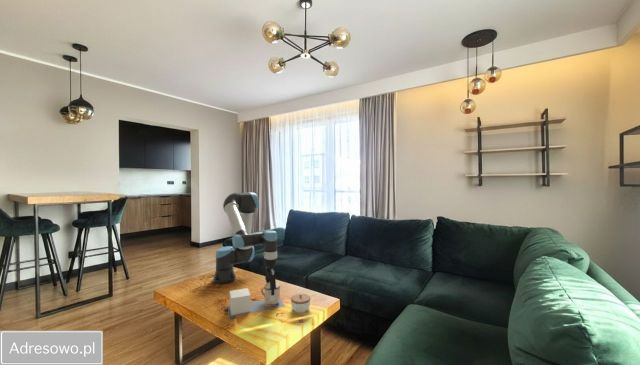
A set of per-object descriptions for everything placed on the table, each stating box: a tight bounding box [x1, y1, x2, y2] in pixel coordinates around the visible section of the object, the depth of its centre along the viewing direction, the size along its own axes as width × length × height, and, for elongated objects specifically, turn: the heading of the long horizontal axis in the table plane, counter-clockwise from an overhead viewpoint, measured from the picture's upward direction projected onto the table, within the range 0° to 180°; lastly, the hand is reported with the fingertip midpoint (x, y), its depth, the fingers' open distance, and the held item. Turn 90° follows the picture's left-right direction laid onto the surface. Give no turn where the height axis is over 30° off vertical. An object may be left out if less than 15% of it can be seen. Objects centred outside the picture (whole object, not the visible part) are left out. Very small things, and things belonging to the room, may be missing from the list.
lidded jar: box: [290, 293, 311, 314], centre depth 146 cm, size 11×11×9 cm
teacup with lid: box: [260, 282, 281, 304], centre depth 153 cm, size 12×9×12 cm
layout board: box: [227, 298, 286, 320], centre depth 149 cm, size 13×30×1 cm, turn 113°
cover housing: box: [229, 287, 252, 315], centre depth 145 cm, size 10×10×9 cm
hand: (270, 296), depth 152 cm, fingers closed on teacup with lid, 9 cm apart
